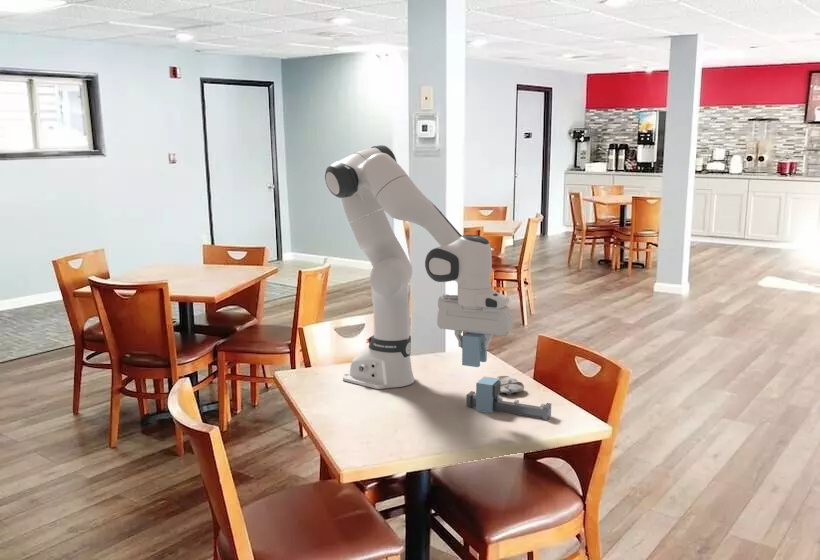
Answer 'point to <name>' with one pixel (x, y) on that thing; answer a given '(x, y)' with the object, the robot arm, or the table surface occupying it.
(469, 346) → the light blue block
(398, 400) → the table surface
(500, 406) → the rail
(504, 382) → the stone
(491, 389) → the light blue rectangular block
